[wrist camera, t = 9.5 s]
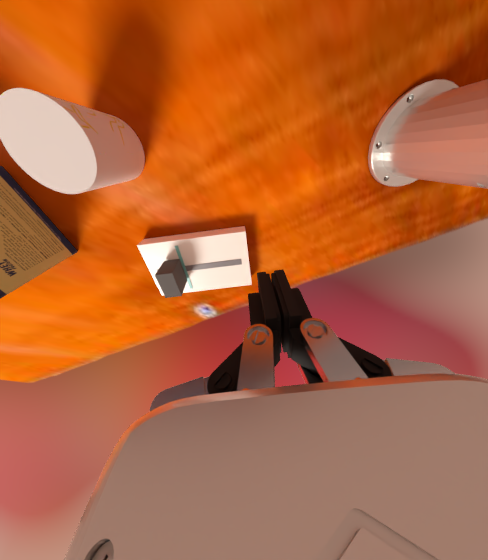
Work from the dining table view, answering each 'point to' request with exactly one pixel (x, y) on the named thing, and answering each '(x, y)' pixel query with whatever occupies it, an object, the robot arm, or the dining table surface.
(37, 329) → the dining table surface
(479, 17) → the dining table surface
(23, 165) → the white cylinder
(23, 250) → the protein box
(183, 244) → the fader console
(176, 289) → the fader knob
